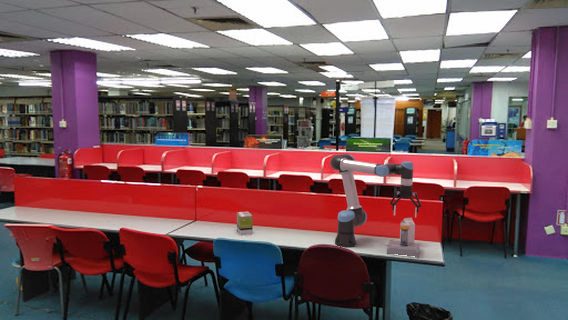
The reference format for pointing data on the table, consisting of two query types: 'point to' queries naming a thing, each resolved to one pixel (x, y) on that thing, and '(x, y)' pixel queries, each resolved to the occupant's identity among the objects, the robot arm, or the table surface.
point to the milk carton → (411, 230)
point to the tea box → (244, 223)
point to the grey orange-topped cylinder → (404, 234)
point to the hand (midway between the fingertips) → (404, 216)
